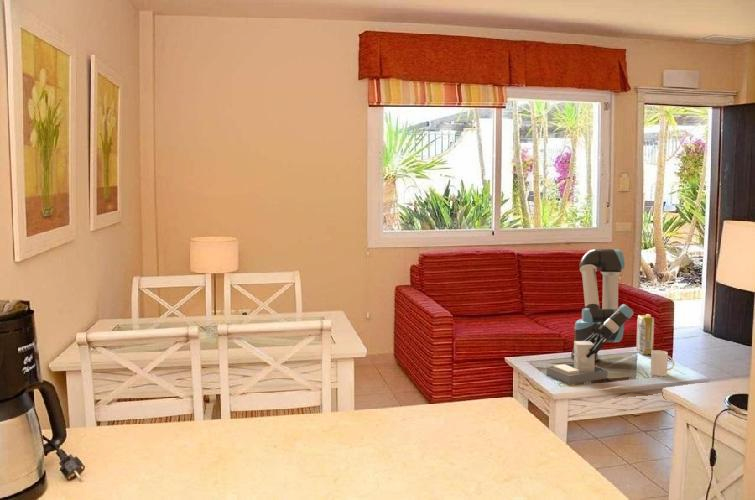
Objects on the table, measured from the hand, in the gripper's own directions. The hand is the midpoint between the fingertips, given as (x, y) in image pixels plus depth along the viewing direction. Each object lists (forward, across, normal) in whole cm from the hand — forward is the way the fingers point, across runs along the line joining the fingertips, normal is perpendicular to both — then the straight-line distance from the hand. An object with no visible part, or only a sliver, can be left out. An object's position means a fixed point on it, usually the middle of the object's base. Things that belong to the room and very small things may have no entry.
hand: (578, 358), depth 334 cm
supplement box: (+2, 0, -7) cm, 7 cm away
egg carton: (+12, -4, -1) cm, 13 cm away
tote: (+8, -1, -6) cm, 10 cm away
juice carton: (-34, +44, -48) cm, 73 cm away
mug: (-26, +1, -40) cm, 48 cm away
